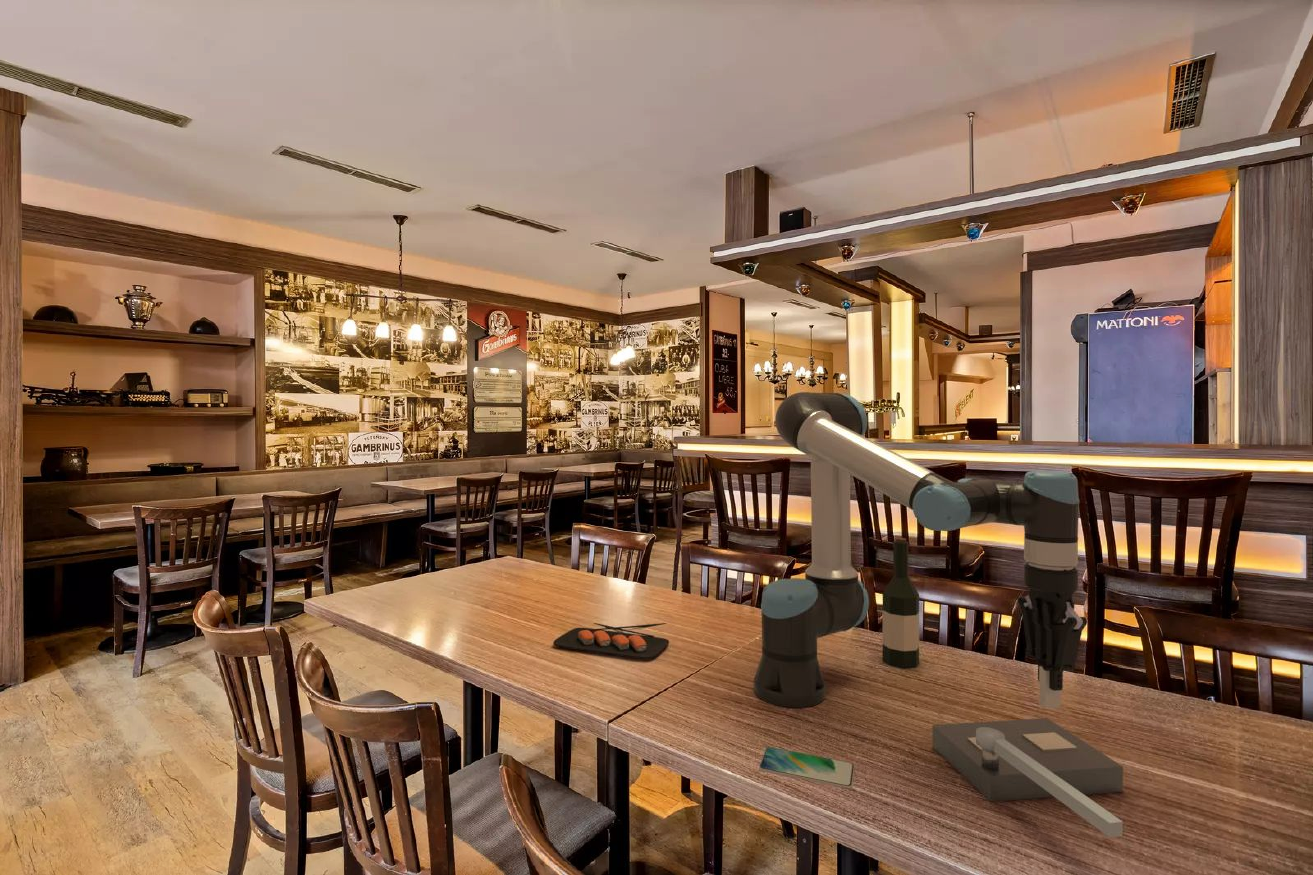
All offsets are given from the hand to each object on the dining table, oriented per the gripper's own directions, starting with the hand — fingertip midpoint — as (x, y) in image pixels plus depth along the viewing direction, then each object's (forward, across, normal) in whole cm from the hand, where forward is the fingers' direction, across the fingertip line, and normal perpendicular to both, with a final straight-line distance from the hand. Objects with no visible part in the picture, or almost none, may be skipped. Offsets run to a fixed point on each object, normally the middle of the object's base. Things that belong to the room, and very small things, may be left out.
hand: (1049, 706), depth 102 cm
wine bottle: (+11, +47, +2) cm, 48 cm away
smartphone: (+11, +4, +40) cm, 42 cm away
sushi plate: (+11, +72, +68) cm, 100 cm away
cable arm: (+3, -14, +13) cm, 19 cm away
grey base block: (+11, +1, +4) cm, 11 cm away
